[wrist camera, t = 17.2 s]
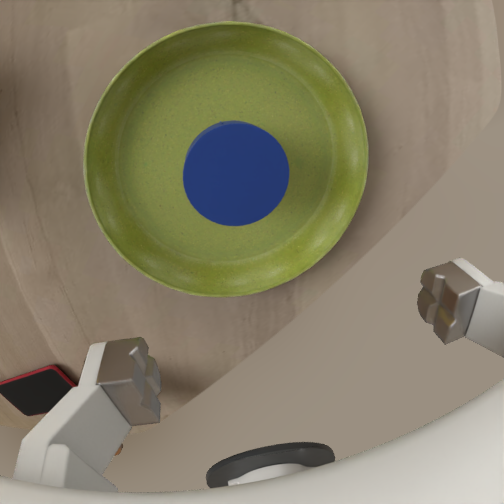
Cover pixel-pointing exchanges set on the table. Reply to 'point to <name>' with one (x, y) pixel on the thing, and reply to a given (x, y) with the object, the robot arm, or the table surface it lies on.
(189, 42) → the saucer
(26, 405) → the smartphone
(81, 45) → the table surface
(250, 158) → the jar lid
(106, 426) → the robot arm
